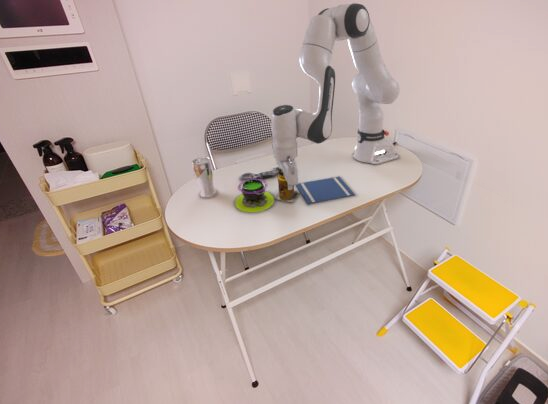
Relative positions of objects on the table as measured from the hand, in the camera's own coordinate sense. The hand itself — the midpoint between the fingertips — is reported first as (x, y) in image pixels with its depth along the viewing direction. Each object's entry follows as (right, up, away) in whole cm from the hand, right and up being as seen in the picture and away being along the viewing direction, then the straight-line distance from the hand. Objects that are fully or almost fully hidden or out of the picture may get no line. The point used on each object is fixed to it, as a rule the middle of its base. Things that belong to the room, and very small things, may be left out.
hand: (287, 184), depth 118 cm
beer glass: (-33, -4, +5) cm, 33 cm away
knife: (-9, +7, +21) cm, 24 cm away
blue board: (+15, -2, +7) cm, 17 cm away
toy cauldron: (-13, -7, 0) cm, 15 cm away
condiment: (0, -5, +4) cm, 6 cm away
